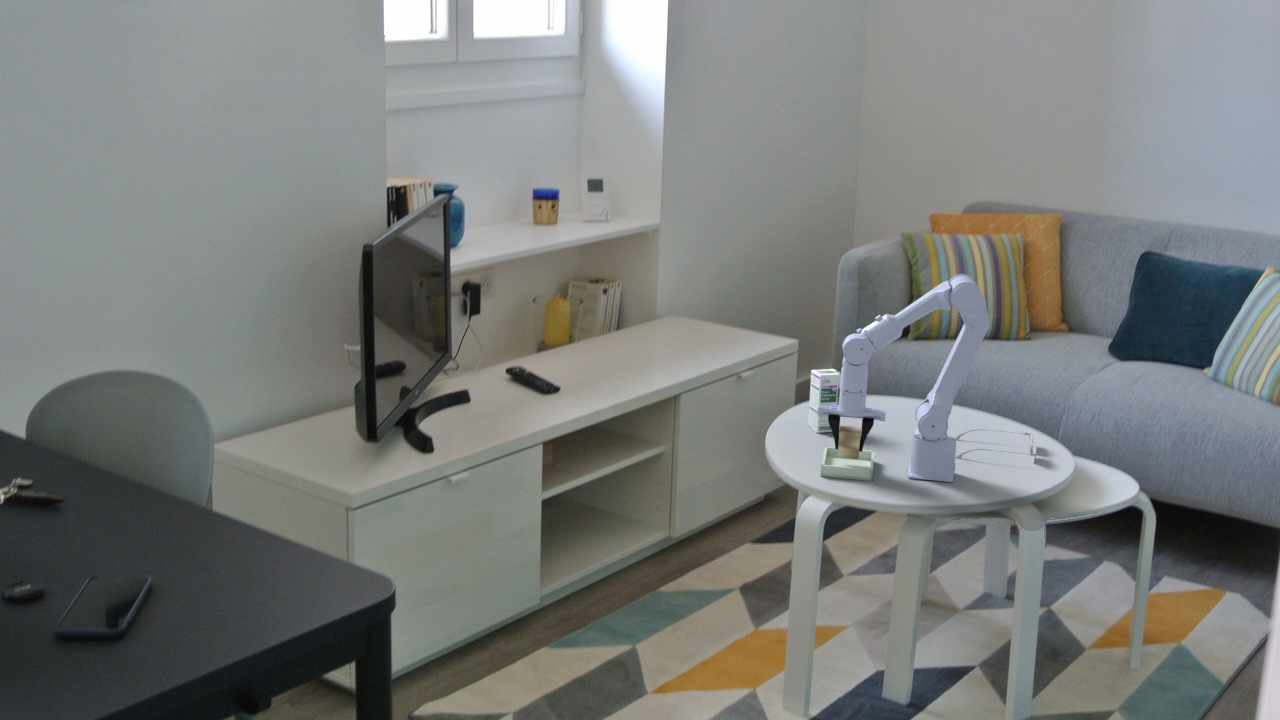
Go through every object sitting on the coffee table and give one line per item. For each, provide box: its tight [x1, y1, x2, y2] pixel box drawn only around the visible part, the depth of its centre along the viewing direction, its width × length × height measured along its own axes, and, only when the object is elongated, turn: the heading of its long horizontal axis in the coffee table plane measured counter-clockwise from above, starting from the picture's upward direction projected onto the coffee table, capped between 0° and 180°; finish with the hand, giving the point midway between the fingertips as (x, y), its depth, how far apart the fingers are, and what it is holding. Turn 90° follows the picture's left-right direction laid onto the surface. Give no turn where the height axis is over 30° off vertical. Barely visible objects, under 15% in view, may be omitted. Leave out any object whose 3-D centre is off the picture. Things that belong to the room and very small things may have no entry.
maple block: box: [838, 424, 862, 459], centre depth 276 cm, size 4×4×6 cm
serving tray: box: [820, 446, 875, 482], centre depth 277 cm, size 11×13×2 cm
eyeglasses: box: [953, 428, 1038, 464], centre depth 291 cm, size 15×18×4 cm
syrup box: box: [807, 368, 841, 434], centre depth 303 cm, size 6×6×14 cm
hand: (848, 449), depth 277 cm, fingers closed on maple block, 4 cm apart
